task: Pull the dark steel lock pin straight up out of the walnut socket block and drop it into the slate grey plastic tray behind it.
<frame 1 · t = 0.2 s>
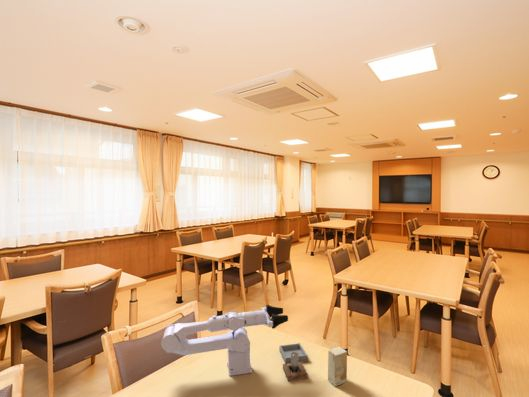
hand: (285, 314, 123), 21 cm above the table, tool horizontal, fingers open, 7 cm apart
skincare box: (337, 381, 111), on the table
lock pin: (294, 363, 116), in the socket
socket: (294, 373, 116), on the table
tray: (292, 355, 129), on the table
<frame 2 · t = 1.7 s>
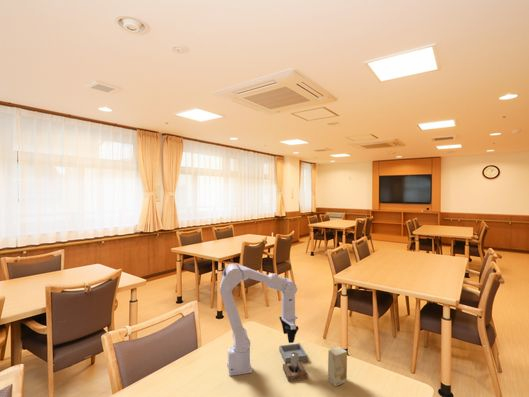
hand: (288, 337, 124), 10 cm above the table, tool pointing down, fingers open, 7 cm apart
nothing on the table moved.
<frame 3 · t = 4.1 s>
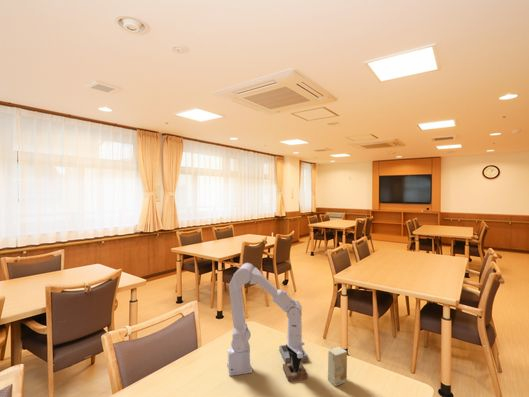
hand: (294, 365, 116), 3 cm above the table, tool pointing down, fingers closed on lock pin, 3 cm apart
lock pin: (294, 363, 116), in the socket, touching gripper
everything else where it was.
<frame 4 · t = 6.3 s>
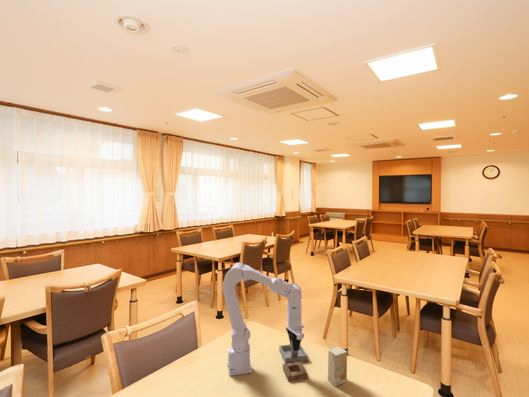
hand: (294, 348, 116), 10 cm above the table, tool pointing down, fingers closed on lock pin, 3 cm apart
lock pin: (294, 346, 116), point 11 cm above the table, touching gripper
everything else where it was.
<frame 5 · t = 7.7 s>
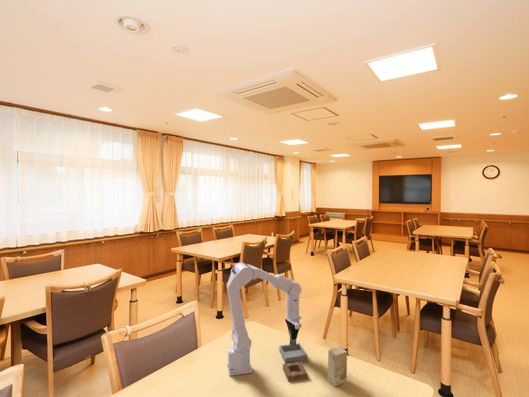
hand: (292, 337, 128), 9 cm above the table, tool pointing down, fingers closed on lock pin, 3 cm apart
lock pin: (292, 335, 128), point 9 cm above the table, touching gripper
everything else where it was.
when the fingers open (6 cm above the table, at t = 8.6 s): lock pin drops 2 cm, resting on tray.
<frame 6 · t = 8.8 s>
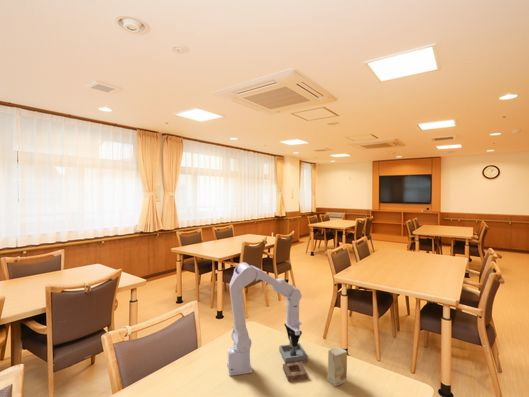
hand: (292, 342, 128), 6 cm above the table, tool pointing down, fingers open, 5 cm apart
lock pin: (292, 345, 129), in the tray
everything else where it was.
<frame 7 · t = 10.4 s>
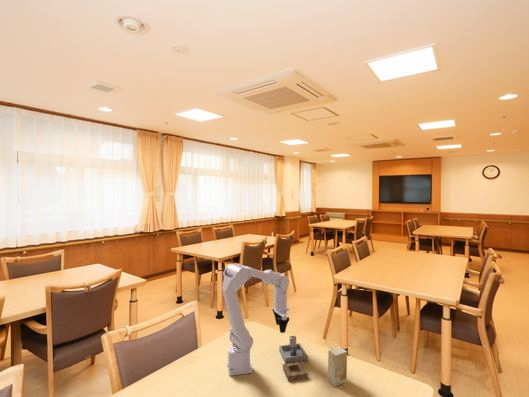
hand: (280, 328, 133), 10 cm above the table, tool pointing down, fingers open, 7 cm apart
nothing on the table moved.
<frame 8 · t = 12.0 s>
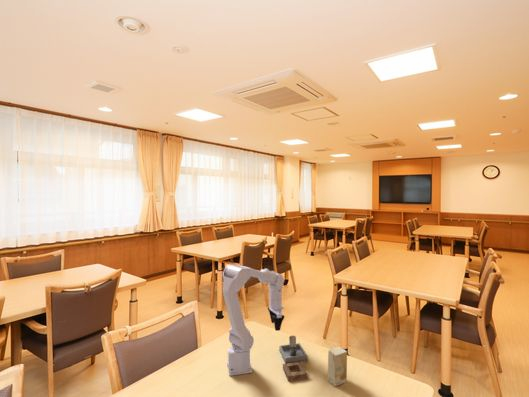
hand: (275, 326, 135), 10 cm above the table, tool pointing down, fingers open, 7 cm apart
nothing on the table moved.
at the end: lock pin inside the target area on the tray (0.0 cm from its centre), point 4.5 cm above the tray's base; lock pin moved 12.4 cm from its start; the gripper is holding nothing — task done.
